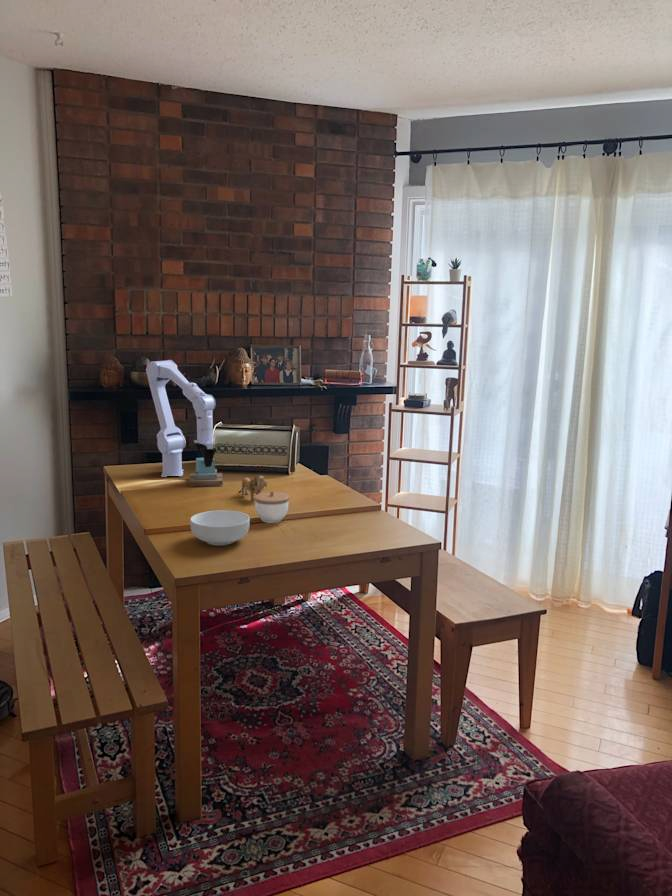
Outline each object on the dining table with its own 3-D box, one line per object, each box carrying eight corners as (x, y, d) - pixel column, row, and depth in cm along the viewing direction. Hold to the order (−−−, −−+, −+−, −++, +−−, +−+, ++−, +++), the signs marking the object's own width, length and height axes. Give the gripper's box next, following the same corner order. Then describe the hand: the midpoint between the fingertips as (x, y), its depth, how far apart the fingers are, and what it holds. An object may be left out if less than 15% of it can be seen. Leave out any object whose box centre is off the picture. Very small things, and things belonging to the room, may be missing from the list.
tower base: (190, 478, 281) (190, 468, 280) (222, 477, 283) (222, 467, 282) (189, 486, 269) (188, 476, 268) (222, 486, 271) (222, 475, 270)
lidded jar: (288, 525, 227) (288, 495, 225) (253, 525, 226) (253, 496, 224) (289, 515, 237) (289, 486, 235) (255, 515, 237) (255, 486, 235)
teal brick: (196, 471, 276) (195, 458, 275) (212, 469, 278) (211, 456, 277) (199, 474, 272) (198, 460, 271) (215, 472, 274) (214, 459, 273)
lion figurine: (270, 501, 253) (270, 475, 251) (258, 504, 249) (258, 478, 247) (243, 492, 263) (243, 468, 261) (231, 495, 259) (231, 470, 257)
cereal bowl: (262, 541, 212) (261, 517, 211) (216, 555, 200) (216, 530, 199) (224, 528, 224) (223, 505, 222) (178, 541, 211) (178, 517, 210)
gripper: (189, 425, 276) (190, 460, 279) (198, 432, 263) (199, 469, 266) (208, 424, 279) (208, 459, 282) (218, 431, 266) (218, 467, 269)
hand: (205, 464), depth 274 cm, fingers open, 7 cm apart
